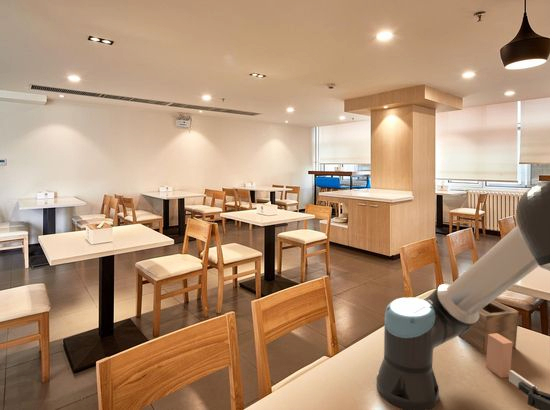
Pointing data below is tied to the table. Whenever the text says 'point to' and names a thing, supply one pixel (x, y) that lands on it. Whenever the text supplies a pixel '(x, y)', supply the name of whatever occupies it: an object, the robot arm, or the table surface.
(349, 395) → the table surface
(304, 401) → the table surface
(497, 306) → the tip box
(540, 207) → the robot arm
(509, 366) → the tall salmon pillar block
